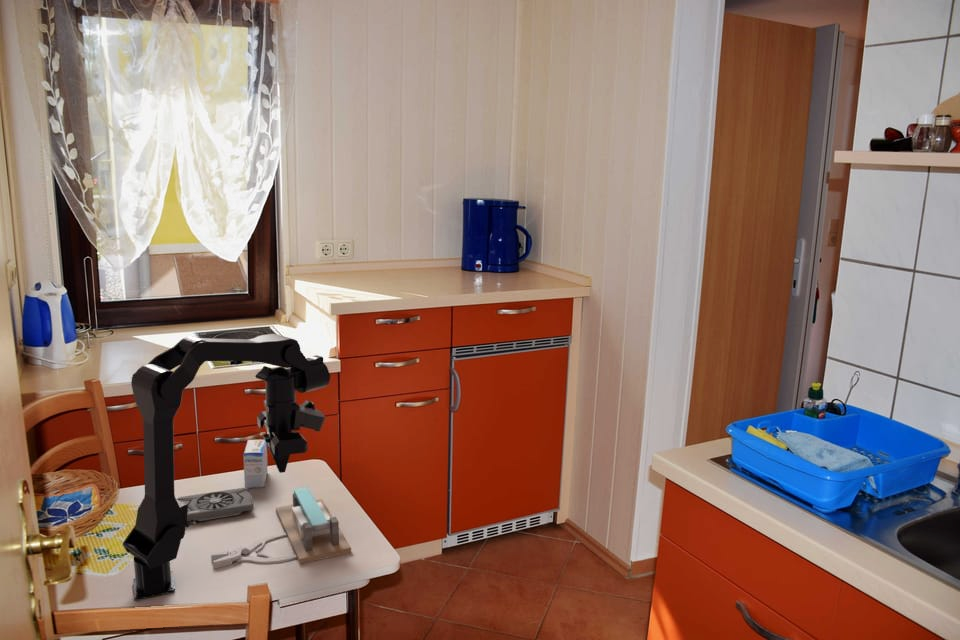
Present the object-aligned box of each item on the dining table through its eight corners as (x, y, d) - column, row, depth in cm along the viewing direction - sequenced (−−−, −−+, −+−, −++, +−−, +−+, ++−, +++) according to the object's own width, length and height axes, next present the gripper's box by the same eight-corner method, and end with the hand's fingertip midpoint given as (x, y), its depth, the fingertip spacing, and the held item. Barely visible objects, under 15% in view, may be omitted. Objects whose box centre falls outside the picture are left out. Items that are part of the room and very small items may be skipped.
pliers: (298, 552, 142) (216, 571, 135) (299, 559, 142) (216, 579, 135) (286, 528, 150) (208, 545, 144) (286, 535, 151) (208, 552, 144)
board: (351, 552, 145) (350, 524, 143) (299, 563, 140) (298, 535, 139) (322, 503, 164) (321, 477, 162) (275, 511, 159) (274, 486, 158)
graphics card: (169, 521, 149) (167, 494, 159) (170, 538, 150) (168, 509, 160) (256, 507, 155) (248, 482, 166) (257, 523, 156) (249, 497, 167)
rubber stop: (312, 515, 158) (311, 494, 157) (295, 518, 157) (294, 497, 156) (310, 510, 160) (309, 490, 159) (293, 514, 159) (292, 493, 158)
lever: (330, 529, 144) (329, 524, 144) (313, 533, 143) (313, 527, 142) (308, 491, 159) (308, 486, 159) (293, 494, 158) (293, 488, 157)
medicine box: (248, 473, 177) (246, 439, 175) (268, 472, 178) (266, 438, 176) (244, 488, 170) (242, 453, 168) (264, 487, 170) (263, 452, 168)
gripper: (333, 408, 143) (333, 483, 146) (309, 380, 159) (310, 449, 162) (274, 414, 138) (275, 492, 141) (256, 385, 154) (257, 456, 157)
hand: (281, 471), depth 151 cm, fingers closed
